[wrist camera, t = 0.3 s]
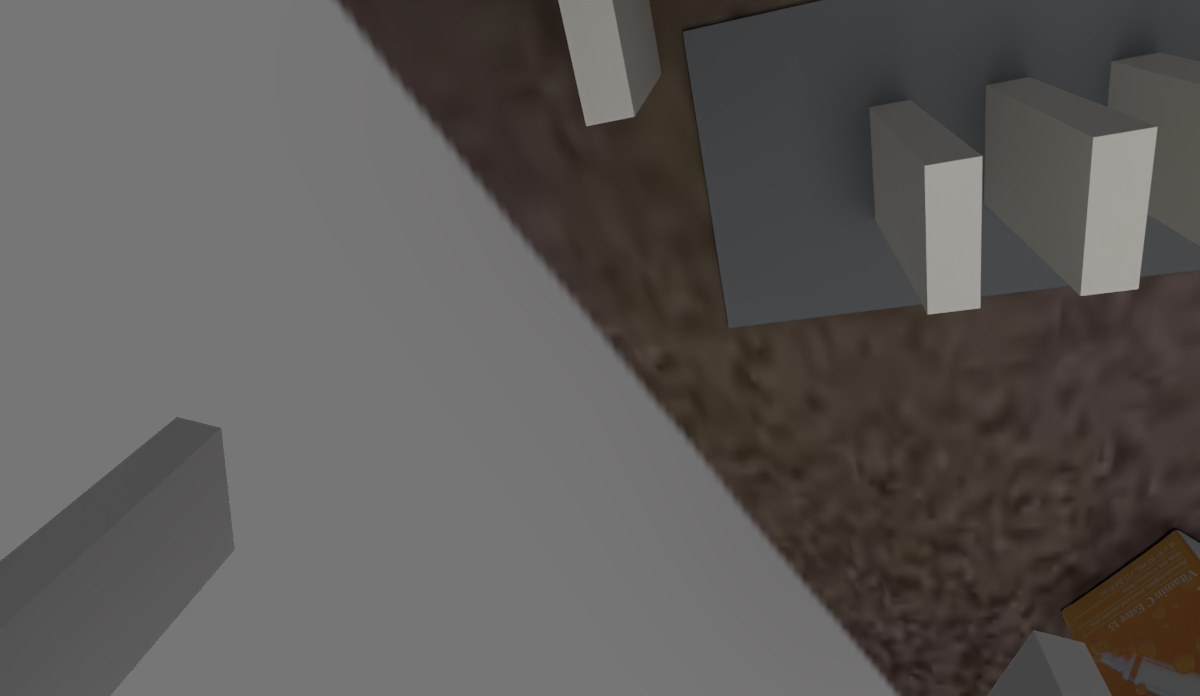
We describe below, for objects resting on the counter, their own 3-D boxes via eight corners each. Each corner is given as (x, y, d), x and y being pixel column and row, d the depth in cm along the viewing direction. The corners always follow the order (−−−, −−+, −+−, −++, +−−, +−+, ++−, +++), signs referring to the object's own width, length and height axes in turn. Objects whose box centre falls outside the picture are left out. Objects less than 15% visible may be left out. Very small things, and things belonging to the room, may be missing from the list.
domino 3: (1111, 61, 28) (1281, 105, 19) (1158, 52, 28) (1353, 93, 19) (1100, 185, 30) (1248, 275, 22) (1144, 178, 30) (1312, 268, 21)
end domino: (601, -44, 30) (547, -47, 21) (639, -54, 29) (600, -61, 21) (626, 81, 32) (586, 126, 23) (661, 73, 31) (634, 116, 23)
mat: (683, 31, 30) (682, 31, 30) (1563, -169, 23) (1576, -172, 23) (728, 324, 36) (728, 328, 36) (1439, 235, 29) (1447, 238, 29)
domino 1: (869, 107, 30) (924, 165, 22) (909, 99, 30) (982, 155, 21) (875, 219, 32) (927, 314, 24) (913, 214, 32) (980, 308, 23)
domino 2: (985, 85, 29) (1093, 137, 20) (1029, 76, 29) (1157, 126, 20) (984, 203, 31) (1080, 296, 23) (1024, 196, 31) (1138, 289, 22)
